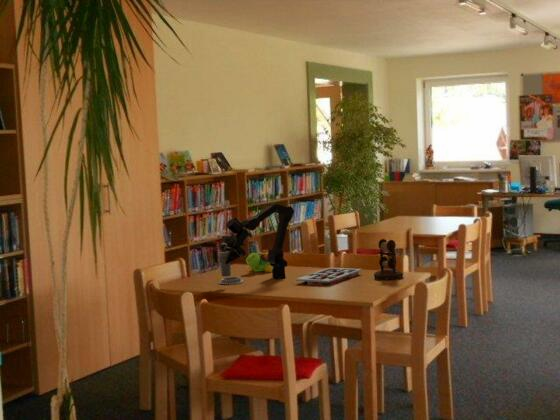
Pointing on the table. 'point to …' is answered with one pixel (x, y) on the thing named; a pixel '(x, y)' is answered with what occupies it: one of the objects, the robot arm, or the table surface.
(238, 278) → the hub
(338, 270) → the maze game
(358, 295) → the table surface
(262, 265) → the turtle toy
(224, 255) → the knob
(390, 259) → the dark figurine on base
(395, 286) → the table surface
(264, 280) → the table surface
